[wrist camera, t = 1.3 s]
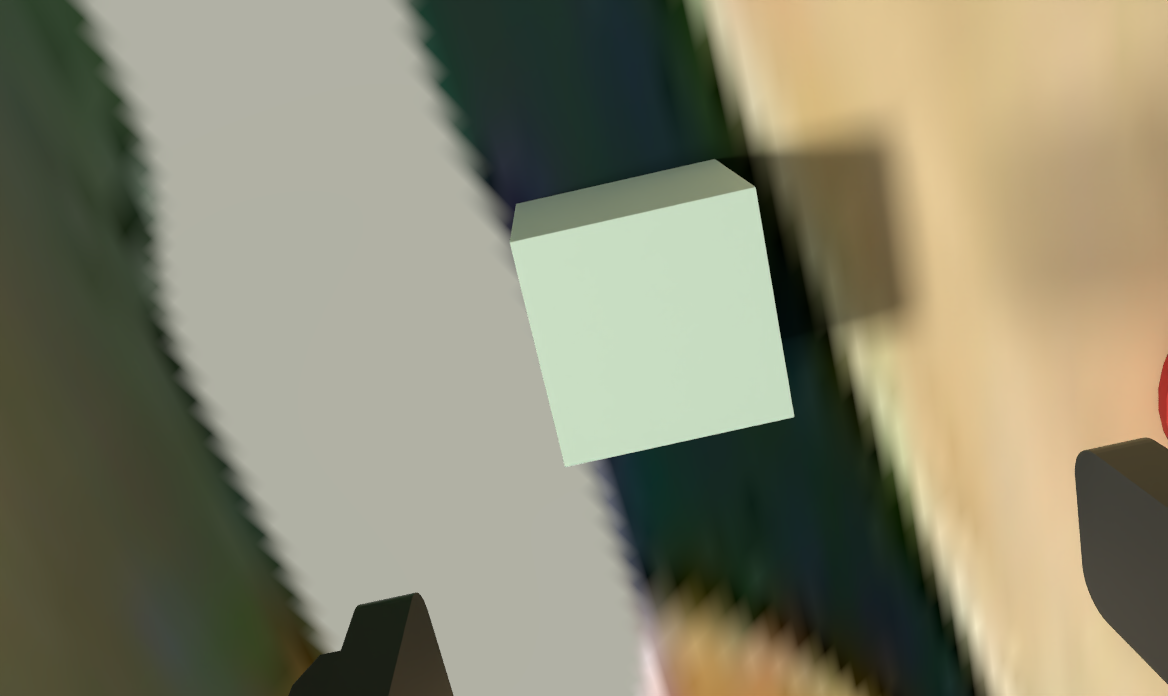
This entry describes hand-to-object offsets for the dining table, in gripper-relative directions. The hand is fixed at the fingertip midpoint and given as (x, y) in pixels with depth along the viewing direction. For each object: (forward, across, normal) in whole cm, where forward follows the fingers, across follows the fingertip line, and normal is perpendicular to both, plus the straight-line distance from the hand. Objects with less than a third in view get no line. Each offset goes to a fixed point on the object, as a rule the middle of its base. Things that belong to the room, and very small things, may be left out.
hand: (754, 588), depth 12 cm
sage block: (+17, 0, 0) cm, 17 cm away
